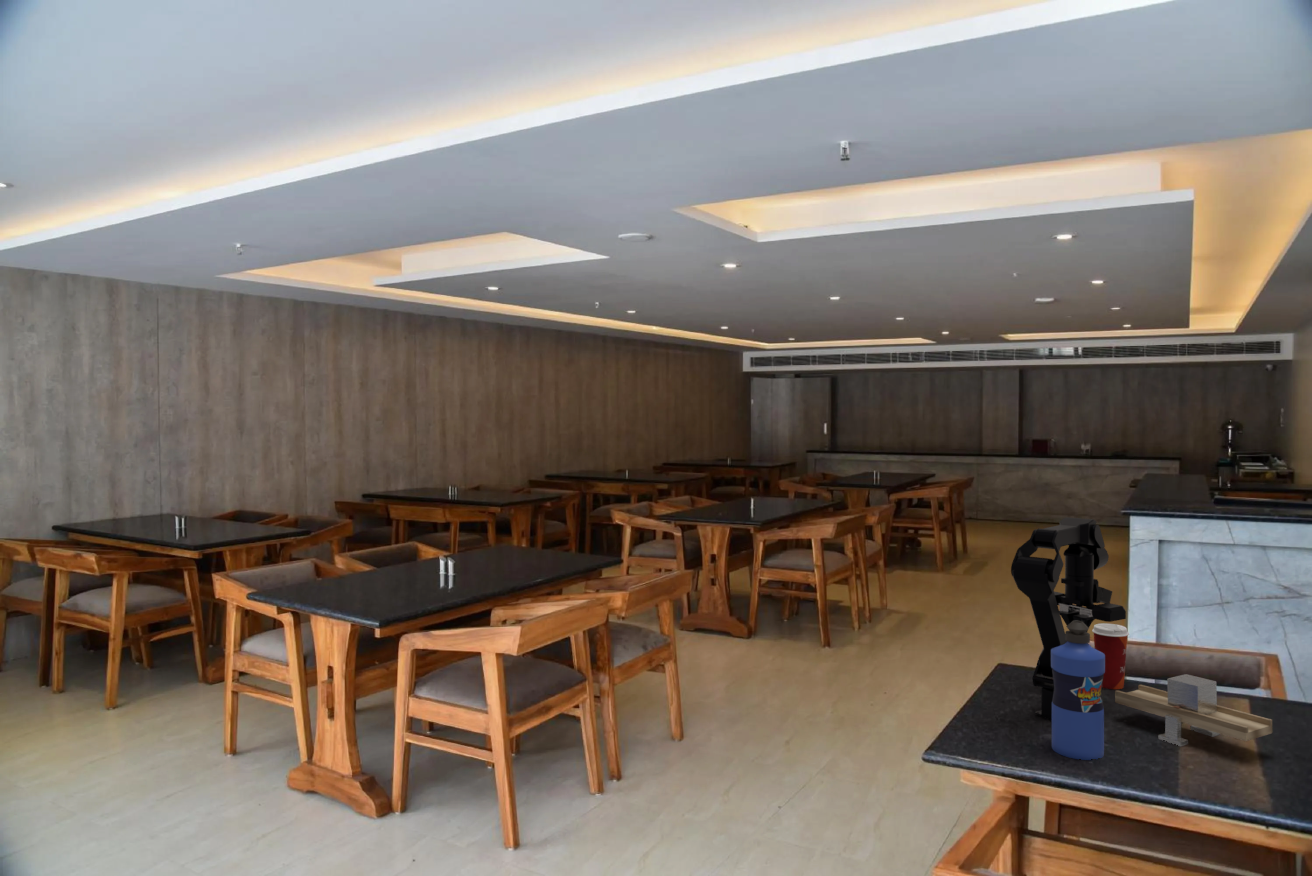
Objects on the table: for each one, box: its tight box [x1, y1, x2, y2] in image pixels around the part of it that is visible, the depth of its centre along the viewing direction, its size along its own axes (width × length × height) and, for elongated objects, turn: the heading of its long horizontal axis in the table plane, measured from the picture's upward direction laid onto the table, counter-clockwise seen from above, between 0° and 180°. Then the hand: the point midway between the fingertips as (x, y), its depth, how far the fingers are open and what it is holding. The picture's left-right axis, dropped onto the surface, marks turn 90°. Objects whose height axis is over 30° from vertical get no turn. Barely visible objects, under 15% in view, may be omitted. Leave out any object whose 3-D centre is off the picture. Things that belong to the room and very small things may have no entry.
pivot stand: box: [1157, 714, 1221, 747], centre depth 172 cm, size 13×4×5 cm, turn 117°
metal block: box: [1166, 673, 1218, 715], centre depth 171 cm, size 6×6×6 cm
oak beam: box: [1114, 684, 1273, 742], centre depth 172 cm, size 8×26×4 cm, turn 27°
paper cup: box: [1091, 622, 1130, 690], centre depth 204 cm, size 8×8×14 cm
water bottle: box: [1051, 620, 1105, 761], centre depth 166 cm, size 9×9×25 cm
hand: (1079, 644), depth 193 cm, fingers closed
